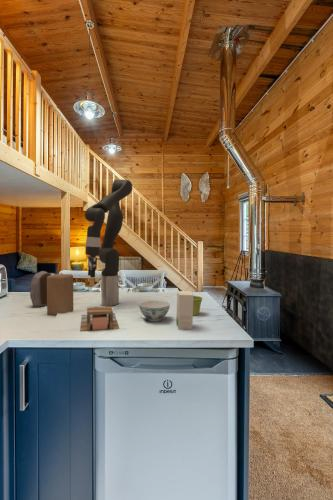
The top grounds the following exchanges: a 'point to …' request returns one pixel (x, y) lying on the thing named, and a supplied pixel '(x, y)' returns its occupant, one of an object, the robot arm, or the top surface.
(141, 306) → the chinaware
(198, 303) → the plant pot
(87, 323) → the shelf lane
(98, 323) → the cord block
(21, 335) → the top surface
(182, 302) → the skincare box
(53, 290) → the block
